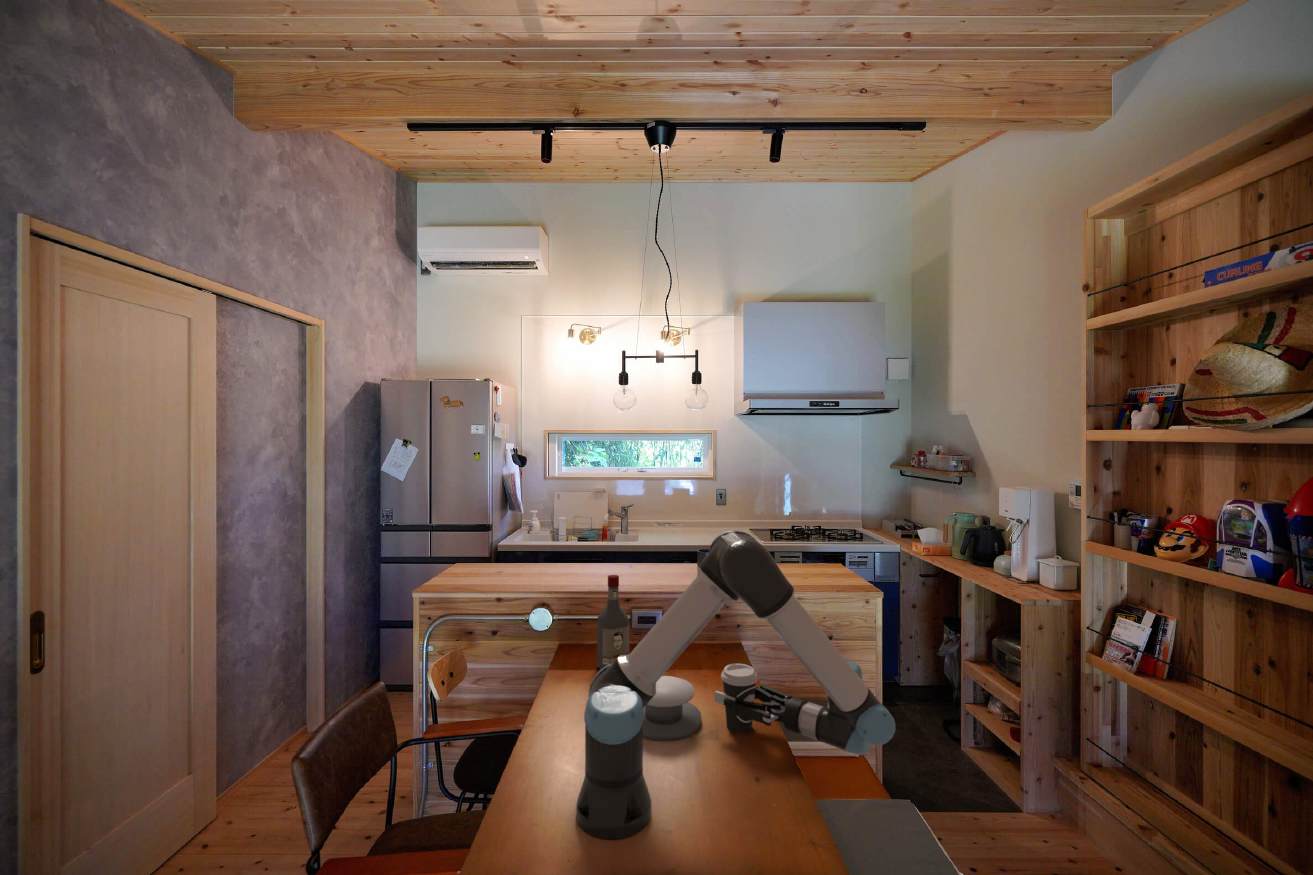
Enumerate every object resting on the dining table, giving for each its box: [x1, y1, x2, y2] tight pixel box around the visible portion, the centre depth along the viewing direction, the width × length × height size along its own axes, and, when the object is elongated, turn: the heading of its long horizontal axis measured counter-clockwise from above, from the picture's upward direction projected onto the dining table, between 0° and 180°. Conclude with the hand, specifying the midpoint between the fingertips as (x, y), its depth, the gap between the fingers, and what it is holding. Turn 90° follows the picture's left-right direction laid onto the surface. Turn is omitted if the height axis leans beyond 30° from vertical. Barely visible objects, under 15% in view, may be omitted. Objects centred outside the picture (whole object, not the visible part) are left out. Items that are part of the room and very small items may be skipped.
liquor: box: [596, 574, 630, 670], centre depth 185 cm, size 9×9×30 cm
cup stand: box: [643, 675, 702, 742], centre depth 151 cm, size 20×20×8 cm
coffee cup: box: [720, 663, 759, 734], centre depth 148 cm, size 10×10×15 cm
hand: (723, 690), depth 151 cm, fingers closed on coffee cup, 7 cm apart
